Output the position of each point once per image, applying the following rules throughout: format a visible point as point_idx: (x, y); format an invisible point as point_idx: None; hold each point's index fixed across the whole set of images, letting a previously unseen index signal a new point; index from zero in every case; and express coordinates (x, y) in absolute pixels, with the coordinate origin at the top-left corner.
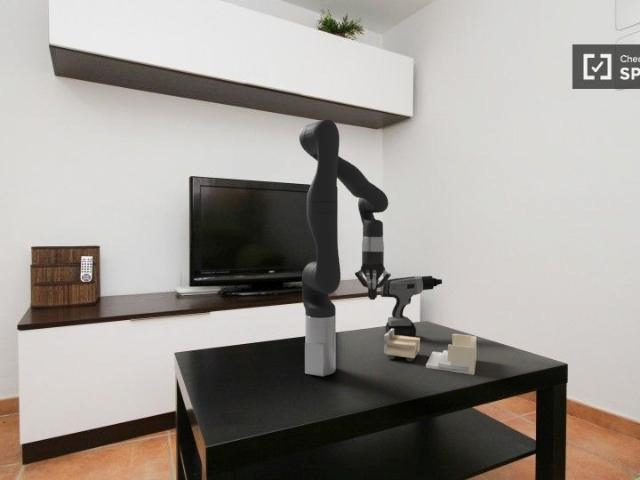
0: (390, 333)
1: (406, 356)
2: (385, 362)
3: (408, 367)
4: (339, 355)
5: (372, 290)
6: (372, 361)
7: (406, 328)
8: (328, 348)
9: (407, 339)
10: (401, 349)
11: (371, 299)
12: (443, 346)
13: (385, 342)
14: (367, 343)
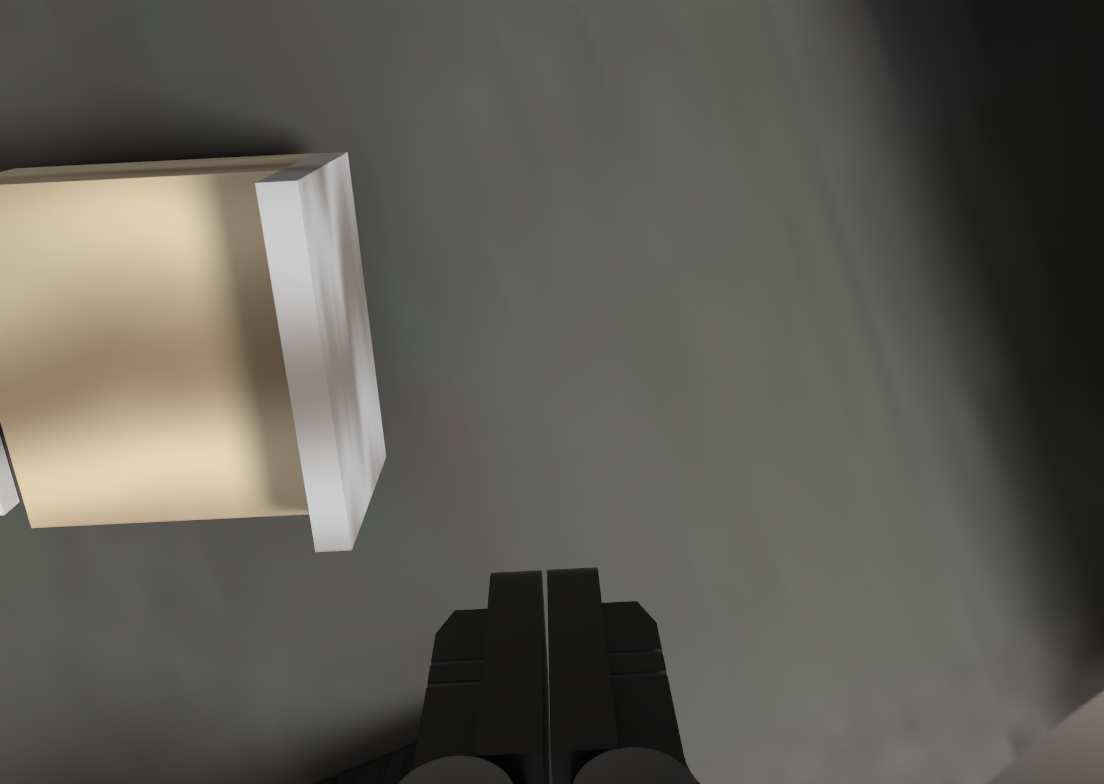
0: (289, 365)
1: (96, 165)
2: (309, 59)
3: (48, 24)
4: (834, 35)
5: (517, 726)
6: (440, 21)
7: None
8: None
9: (121, 406)
10: (121, 171)
11: (551, 571)
12: (35, 743)
13: (299, 169)
14: (684, 535)
